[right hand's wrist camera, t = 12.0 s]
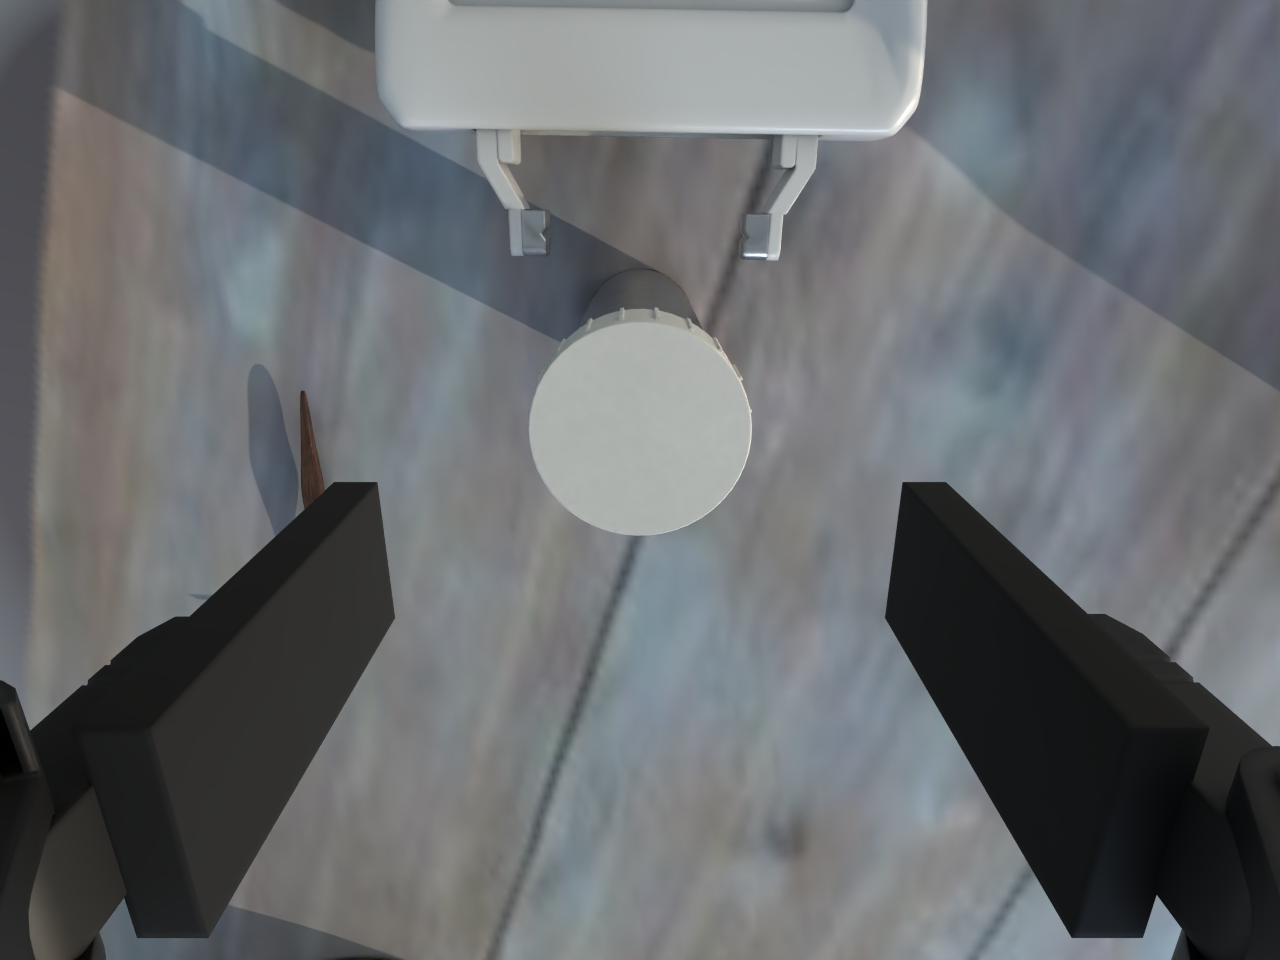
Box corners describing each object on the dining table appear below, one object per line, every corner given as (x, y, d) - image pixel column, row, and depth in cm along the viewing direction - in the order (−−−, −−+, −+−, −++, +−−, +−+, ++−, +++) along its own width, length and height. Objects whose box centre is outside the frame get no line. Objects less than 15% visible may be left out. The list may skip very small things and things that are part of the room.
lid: (702, 528, 24) (709, 562, 22) (514, 473, 23) (501, 502, 21) (773, 344, 22) (787, 361, 20) (569, 278, 21) (561, 287, 19)
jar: (673, 389, 39) (700, 541, 22) (573, 358, 39) (519, 488, 21) (708, 288, 38) (767, 366, 20) (604, 253, 37) (572, 303, 20)
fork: (332, 390, 39) (317, 399, 37) (355, 652, 45) (342, 672, 43) (281, 387, 39) (263, 396, 37) (310, 650, 45) (296, 670, 43)
